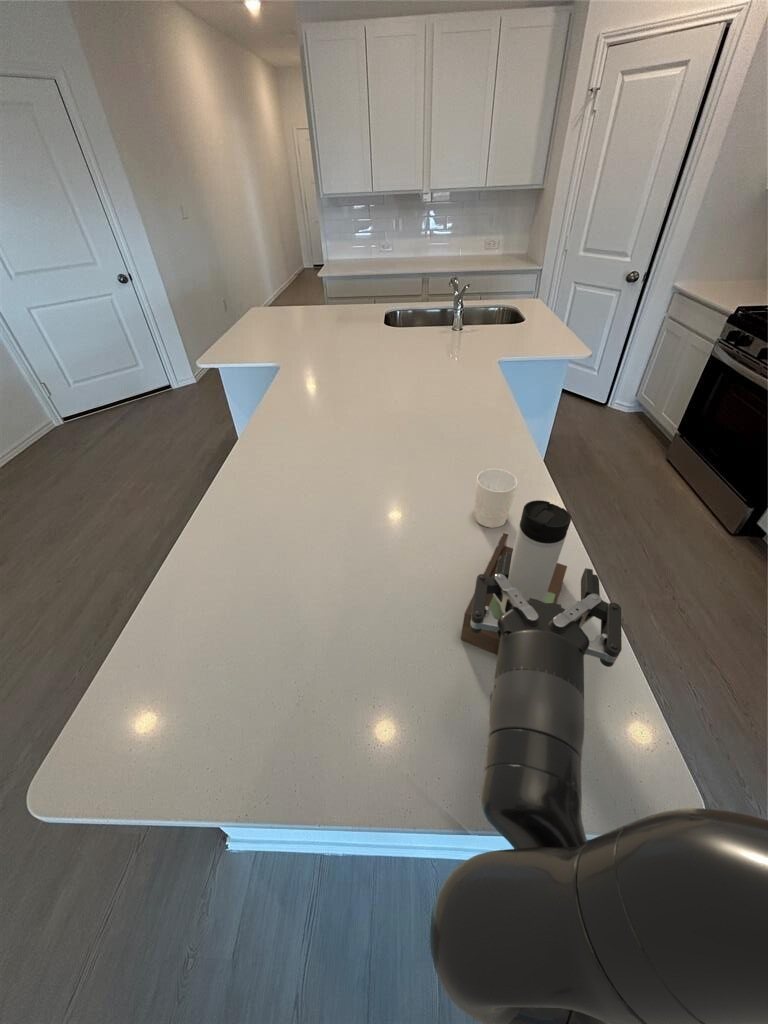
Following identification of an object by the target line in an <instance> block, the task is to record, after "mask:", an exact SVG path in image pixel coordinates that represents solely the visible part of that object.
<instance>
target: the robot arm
mask: <svg viewBox="0 0 768 1024" xmlns="http://www.w3.org/2000/svg"><path fill="white" fill-rule="evenodd" d="M511 558H512V553H509V552H506V554H505V556H500V557H499V558H498V563H497V568H496V573H495V575H494V576H492V577H487V576H486V575H484V573H480V574H478V575H477V576H476V580H475V588H474V593H473V595H474V600H473V608H472V615H471V622H470V630H471V631H472V632H473V633H480V632H481V630H482V629H484V630H489V631H495V632H497V634H498V636H499V639H500V644H499V650H498V655H497V658H496V664H495V672H494V677H493V683H492V684H493V685H492V690H491V692H490V698H489V700H490V701H489V703H490V705H489V712H488V713H489V714H488V717H489V718H488V741H487V746H486V747H487V748H486V754H485V760H484V768H483V774H482V782H481V790H480V808H481V810H482V813H483V816H484V818H485V819H486V820H487V822H488V823H489V825H491V826H492V827H493V828H494V830H495V831H497V832H498V833H499V834H500V835H501V836H502V837H503V838H504V839H505V840H506V841H507V842H508V843H509V845H511V847H512V848H509V849H499V850H498V849H497V850H490V851H487V852H483V853H479V854H476V855H474V856H472V857H470V858H468V859H466V860H465V861H463V862H462V863H460V864H459V865H458V866H457V867H456V868H454V870H453V871H452V872H451V873H450V874H449V875H448V877H447V878H446V879H445V881H444V883H443V884H442V886H441V888H440V890H439V891H438V893H437V896H436V898H435V901H434V904H433V907H432V912H431V916H430V924H429V925H430V926H429V945H430V954H431V959H432V963H433V966H434V970H435V973H436V976H437V978H438V980H439V982H440V984H441V986H442V988H443V990H444V991H445V993H446V995H447V996H448V997H449V999H450V1000H451V1001H452V1003H454V1005H455V1006H457V1007H458V1009H459V1010H460V1011H462V1012H463V1013H464V1014H466V1015H467V1016H469V1017H471V1018H472V1019H474V1020H476V1021H477V1022H479V1023H481V1024H768V819H764V818H761V817H757V816H754V815H749V814H745V813H740V812H735V811H730V810H721V809H713V808H701V807H700V808H699V807H698V808H697V807H695V808H694V807H693V808H691V807H689V808H688V807H686V808H676V809H669V810H664V811H662V812H658V813H654V814H651V815H648V816H645V817H643V818H639V819H637V820H634V821H631V822H630V823H627V824H625V825H622V826H621V827H618V828H615V829H613V830H610V831H607V832H606V833H602V834H601V835H597V836H596V837H594V838H592V839H589V840H587V836H586V832H585V829H584V828H585V827H584V824H583V817H582V806H583V796H582V795H583V790H582V789H583V788H582V785H583V782H582V781H583V780H582V772H583V771H582V757H583V747H584V740H585V730H586V728H585V727H586V725H585V724H586V723H585V719H586V718H585V658H584V657H585V655H587V656H591V657H594V658H598V659H599V662H600V663H601V664H602V665H603V666H605V667H607V668H611V667H613V666H614V664H615V663H616V660H617V659H618V658H619V655H620V653H621V652H622V648H623V647H622V607H621V605H620V604H618V603H616V602H606V601H605V600H603V599H602V597H601V595H600V594H601V593H600V591H601V590H600V578H599V576H598V575H597V574H594V569H593V568H586V567H585V568H584V570H583V573H582V575H581V579H580V600H578V601H576V602H575V603H573V604H572V605H571V606H570V607H568V608H566V609H565V608H563V607H562V604H559V603H556V604H554V603H544V602H542V601H539V600H537V599H532V598H529V600H526V599H525V598H524V597H523V595H522V594H521V593H520V591H519V590H518V589H517V588H516V587H513V586H512V585H511V583H510V582H509V581H508V577H509V571H510V564H511ZM487 594H493V595H494V597H495V598H496V600H497V601H498V602H499V604H500V607H501V610H502V612H503V615H502V616H501V617H500V618H499V619H496V618H495V617H494V616H493V614H492V611H491V609H490V608H489V607H488V606H485V605H486V596H487ZM593 618H596V619H598V620H600V634H598V635H596V637H595V639H594V640H589V637H588V635H587V634H586V633H585V631H584V630H583V629H582V627H583V626H584V625H585V624H586V623H587V622H589V621H590V620H591V619H593Z"/></svg>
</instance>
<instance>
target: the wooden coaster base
mask: <svg viewBox="0 0 768 1024" xmlns="http://www.w3.org/2000/svg"><path fill="white" fill-rule="evenodd" d="M508 540H509V534H508V533H505V532H502V534H501V536H500V539H499V540H498V542H497V544H496V547H495V548H494V551H493V553H492V555H491V558H490V560H489V561H488V563H487V566H486V568H485V570H484V572H483V574H484V575H486V576H487V577H492V576H494V575H495V573H496V568H497V563H498V558H499V557H500V556H505V554H506V552H509V553H513V548H514V547H510V546H507V543H508ZM567 569H568V565H565V564H562V563H560V562H557V564H556V567H555V570H554V573H553V576H552V579H551V582H550V585H549V588H548V591H547V594H546V596H545V599H544V603H554V604H558V603H557V602H558V600H559V595H560V593H561V589H562V585H563V583H564V579H565V576H566V572H567ZM473 600H474V594H473V595H472V597H471V599H470V601H469V602H468V605H467V607H466V609H465V611H464V615H463V620H462V621H463V622H462V628H461V635H460V640H461V641H464V642H466V643H468V644H470V645H473V646H476V647H478V648H480V649H483V650H484V651H487V652H490V653H492V654H494V655H497V656H498V650H499V644H500V639H499V636H498V634H497V632H495V631H489V630H484V629H482V630H481V632H480V633H473V632H472V631H471V630H470V622H471V615H472V608H473ZM485 606H488V607H489V608H490V609H491V611H492V614H493V616H494V617H495V618H496V619H499V618H500V617H501V616H502V615H503V612H502V610H501V607H500V604H499V602H498V601H497V600H496V598H495V597H494V595H493V594H487V596H486V605H485Z"/></svg>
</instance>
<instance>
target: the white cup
mask: <svg viewBox="0 0 768 1024" xmlns="http://www.w3.org/2000/svg"><path fill="white" fill-rule="evenodd" d="M517 486H518V479H517V477H516V476H515V474H514V473H512V472H509V471H507V470H506V469H501V468H487V469H484V470H482V471H480V472H479V473H478V474H477V476H476V483H475V494H474V495H475V497H474V519H475V522H477V523H478V524H479V525H481V526H483V527H486V528H489V529H493V528H500V527H502V526H504V525H505V523H506V522H507V521H508V517H509V513H510V511H511V507H512V504H513V501H514V497H515V493H516V490H517Z"/></svg>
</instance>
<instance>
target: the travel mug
mask: <svg viewBox="0 0 768 1024" xmlns="http://www.w3.org/2000/svg"><path fill="white" fill-rule="evenodd" d="M571 522H572V516H571V514H570V512H569V511H568V510H566V509H565V508H564V507H561V506H559V505H557V504H554V503H551V502H550V501H548V500H541V499H540V500H539V499H538V500H537V499H536V500H531V501H528V502H527V503H525V505H523V508H522V512H521V518H520V521H519V524H518V528H517V533H516V537H515V541H514V544H513V547H512V548H513V553H512V558H511V564H510V571H509V577H508V581H509V582H510V583H511V585H512V586H513V587H516V588H517V589H518V590H519V591H520V593H521V594H522V595H523V597H524V598H525V599H526V600H529V598H532V599H537V600H539V601H542V602H544V599H545V596H546V594H547V591H548V588H549V585H550V582H551V579H552V576H553V573H554V570H555V567H556V564H557V563H558V561H559V558H560V555H561V552H562V549H563V547H564V544H565V540H566V537H567V534H568V530H569V528H570V524H571Z"/></svg>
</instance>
